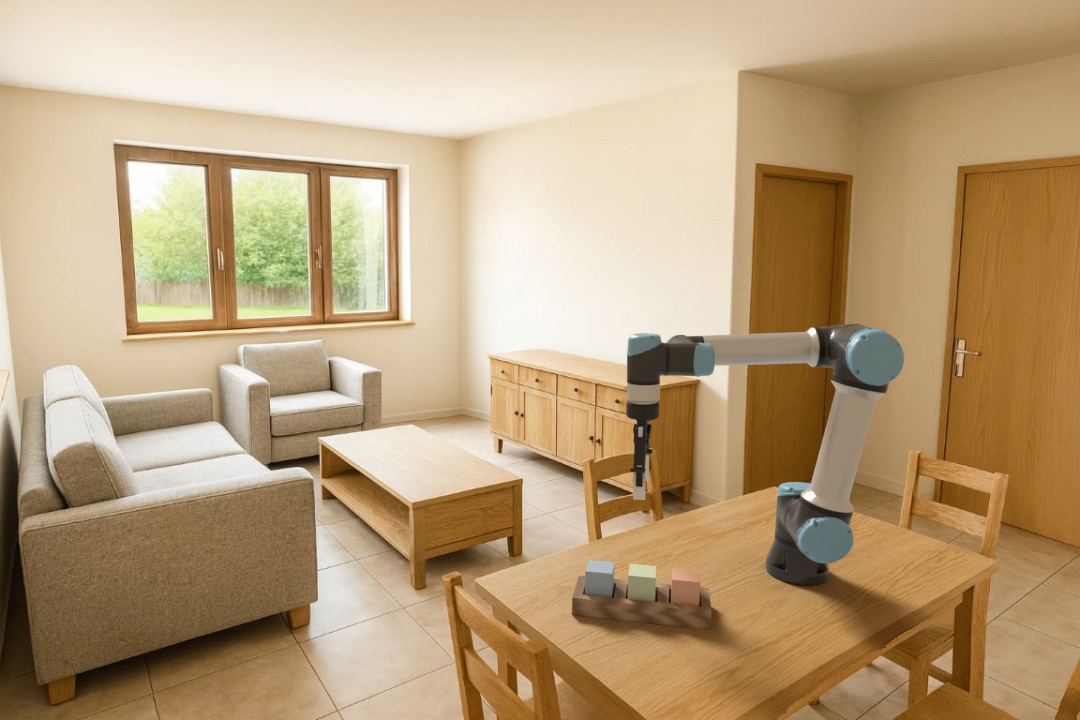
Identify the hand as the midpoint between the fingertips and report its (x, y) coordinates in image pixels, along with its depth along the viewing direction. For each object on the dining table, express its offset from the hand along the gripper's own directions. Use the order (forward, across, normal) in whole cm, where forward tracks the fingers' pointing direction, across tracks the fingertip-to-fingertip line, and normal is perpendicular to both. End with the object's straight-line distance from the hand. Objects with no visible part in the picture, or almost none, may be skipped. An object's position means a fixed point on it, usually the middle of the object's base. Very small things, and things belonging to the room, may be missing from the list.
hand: (641, 489), depth 164 cm
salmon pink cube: (+23, +10, +11) cm, 27 cm away
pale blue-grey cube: (+22, +10, -8) cm, 26 cm away
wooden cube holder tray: (+25, +10, +1) cm, 27 cm away
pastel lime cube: (+22, +10, +1) cm, 25 cm away
